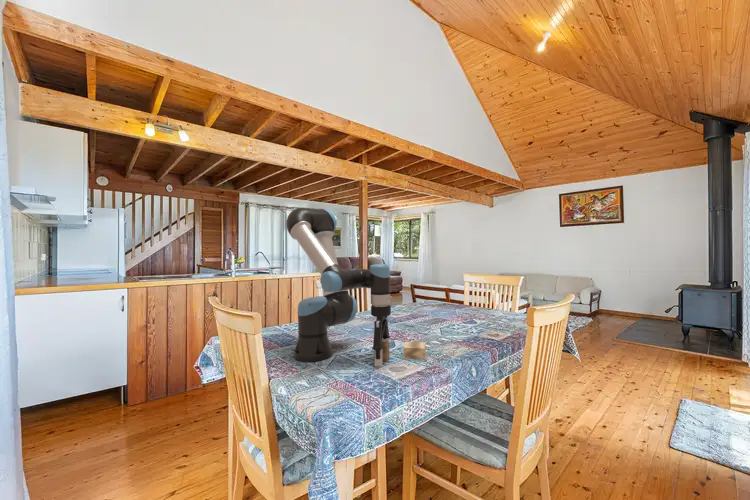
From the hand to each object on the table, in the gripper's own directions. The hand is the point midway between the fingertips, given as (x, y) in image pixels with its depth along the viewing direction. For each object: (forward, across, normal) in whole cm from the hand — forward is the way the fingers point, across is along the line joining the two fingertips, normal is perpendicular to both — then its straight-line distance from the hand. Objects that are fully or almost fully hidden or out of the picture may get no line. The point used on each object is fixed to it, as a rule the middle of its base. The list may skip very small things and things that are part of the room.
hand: (382, 361), depth 124 cm
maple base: (-1, +7, -12) cm, 14 cm away
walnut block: (0, 0, 0) cm, 0 cm away
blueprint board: (0, +7, -12) cm, 14 cm away
